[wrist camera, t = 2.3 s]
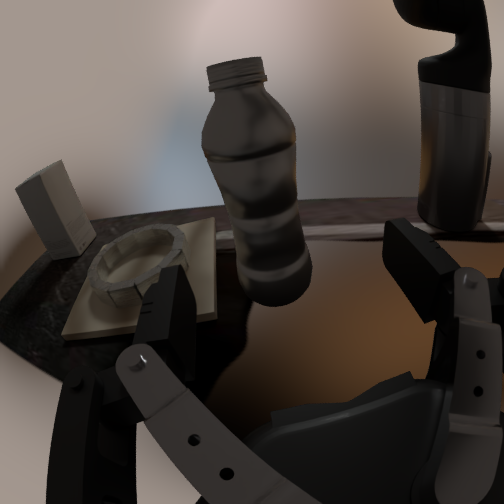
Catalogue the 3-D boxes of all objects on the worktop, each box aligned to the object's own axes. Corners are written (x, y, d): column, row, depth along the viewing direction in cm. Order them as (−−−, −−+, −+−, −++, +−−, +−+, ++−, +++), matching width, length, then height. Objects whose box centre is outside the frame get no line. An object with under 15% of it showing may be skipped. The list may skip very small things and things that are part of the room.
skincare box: (98, 236, 46) (64, 157, 37) (79, 258, 40) (39, 173, 32) (69, 241, 47) (36, 170, 38) (50, 262, 42) (13, 187, 33)
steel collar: (193, 231, 37) (187, 215, 36) (186, 296, 27) (177, 276, 26) (113, 251, 37) (106, 237, 36) (85, 314, 27) (74, 298, 26)
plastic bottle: (327, 293, 25) (305, 50, 14) (262, 328, 23) (198, 64, 12) (290, 260, 30) (257, 60, 19) (233, 287, 28) (174, 77, 17)
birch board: (215, 223, 40) (213, 217, 40) (217, 318, 25) (214, 311, 25) (106, 250, 40) (103, 245, 40) (66, 340, 26) (61, 334, 25)
